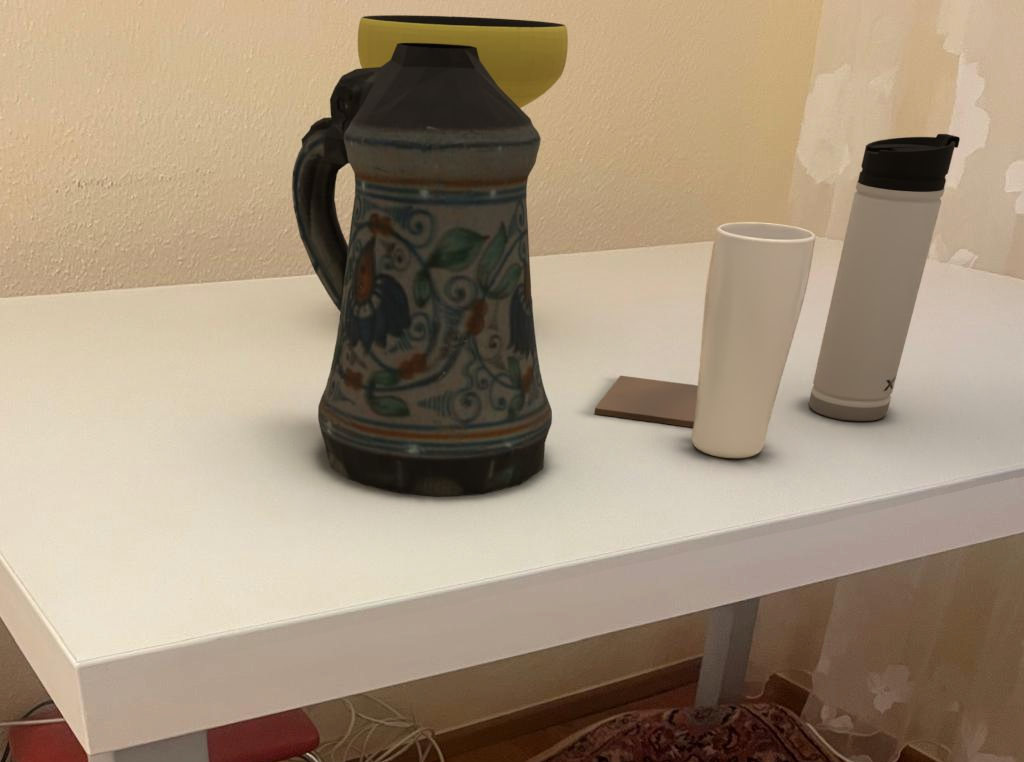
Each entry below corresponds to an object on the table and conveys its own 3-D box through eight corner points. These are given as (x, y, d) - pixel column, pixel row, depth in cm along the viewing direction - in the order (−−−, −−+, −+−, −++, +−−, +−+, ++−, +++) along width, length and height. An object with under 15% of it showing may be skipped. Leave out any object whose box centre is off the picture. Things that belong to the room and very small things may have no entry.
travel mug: (904, 421, 96) (979, 140, 85) (828, 423, 95) (893, 139, 84) (868, 398, 101) (934, 130, 90) (795, 399, 100) (853, 128, 89)
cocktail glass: (401, 358, 107) (408, 25, 92) (330, 310, 120) (327, 13, 105) (577, 342, 113) (609, 28, 98) (491, 299, 126) (508, 17, 112)
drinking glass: (716, 428, 93) (753, 218, 85) (790, 452, 89) (837, 233, 81) (662, 445, 90) (695, 227, 81) (737, 471, 86) (780, 244, 77)
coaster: (736, 396, 101) (737, 390, 100) (720, 431, 93) (721, 424, 93) (619, 381, 103) (620, 375, 103) (594, 414, 95) (594, 407, 95)
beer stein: (535, 509, 78) (576, 62, 64) (250, 481, 81) (227, 44, 66) (557, 430, 92) (594, 46, 77) (311, 408, 94) (303, 31, 80)
